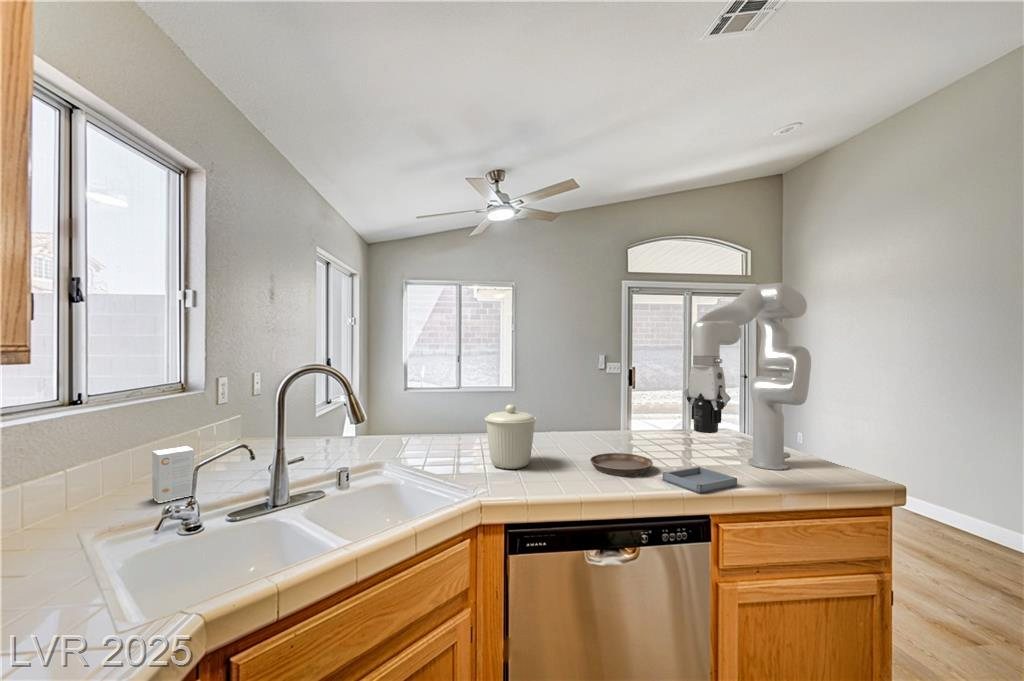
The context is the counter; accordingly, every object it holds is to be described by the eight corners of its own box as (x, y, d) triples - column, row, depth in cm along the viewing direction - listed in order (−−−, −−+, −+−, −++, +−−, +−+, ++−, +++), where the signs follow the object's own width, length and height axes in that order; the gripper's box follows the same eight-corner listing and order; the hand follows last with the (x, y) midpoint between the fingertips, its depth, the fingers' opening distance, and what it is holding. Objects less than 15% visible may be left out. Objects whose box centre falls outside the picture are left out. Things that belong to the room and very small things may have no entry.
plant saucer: (589, 476, 146) (589, 466, 146) (590, 460, 167) (590, 451, 167) (656, 480, 143) (656, 470, 143) (648, 463, 163) (648, 454, 163)
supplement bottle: (720, 434, 133) (721, 393, 133) (696, 433, 135) (696, 392, 135) (715, 429, 140) (715, 390, 140) (691, 428, 141) (691, 390, 141)
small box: (187, 491, 128) (187, 445, 128) (194, 496, 124) (194, 449, 124) (151, 499, 122) (151, 450, 122) (157, 504, 118) (158, 454, 118)
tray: (698, 474, 149) (698, 466, 149) (737, 486, 137) (737, 478, 137) (662, 480, 142) (662, 472, 142) (699, 494, 129) (699, 485, 129)
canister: (545, 463, 161) (546, 403, 161) (518, 476, 146) (519, 410, 146) (503, 456, 171) (503, 400, 171) (473, 467, 155) (474, 405, 155)
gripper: (740, 363, 131) (740, 424, 131) (691, 360, 147) (691, 415, 147) (722, 363, 128) (722, 427, 128) (674, 361, 143) (674, 417, 143)
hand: (705, 420), depth 137 cm, fingers closed on supplement bottle, 6 cm apart
